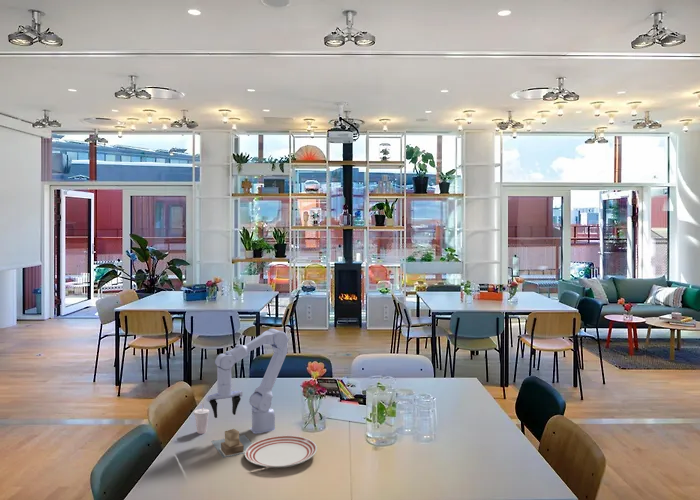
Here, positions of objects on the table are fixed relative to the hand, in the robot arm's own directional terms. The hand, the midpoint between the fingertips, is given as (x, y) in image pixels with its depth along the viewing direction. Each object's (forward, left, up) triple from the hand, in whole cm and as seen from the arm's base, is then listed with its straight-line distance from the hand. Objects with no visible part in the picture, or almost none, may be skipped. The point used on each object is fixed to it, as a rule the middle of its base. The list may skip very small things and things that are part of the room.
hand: (224, 415), depth 220 cm
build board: (-1, +10, -10) cm, 14 cm away
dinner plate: (-14, +28, -10) cm, 33 cm away
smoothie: (+7, -11, -10) cm, 16 cm away
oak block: (+1, +14, -7) cm, 15 cm away
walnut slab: (+1, +14, -9) cm, 17 cm away
